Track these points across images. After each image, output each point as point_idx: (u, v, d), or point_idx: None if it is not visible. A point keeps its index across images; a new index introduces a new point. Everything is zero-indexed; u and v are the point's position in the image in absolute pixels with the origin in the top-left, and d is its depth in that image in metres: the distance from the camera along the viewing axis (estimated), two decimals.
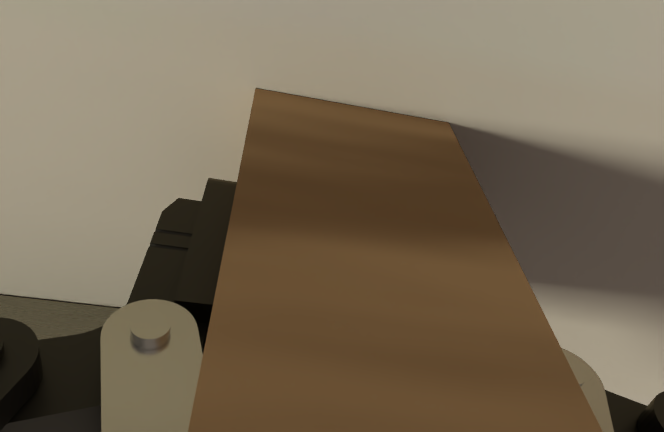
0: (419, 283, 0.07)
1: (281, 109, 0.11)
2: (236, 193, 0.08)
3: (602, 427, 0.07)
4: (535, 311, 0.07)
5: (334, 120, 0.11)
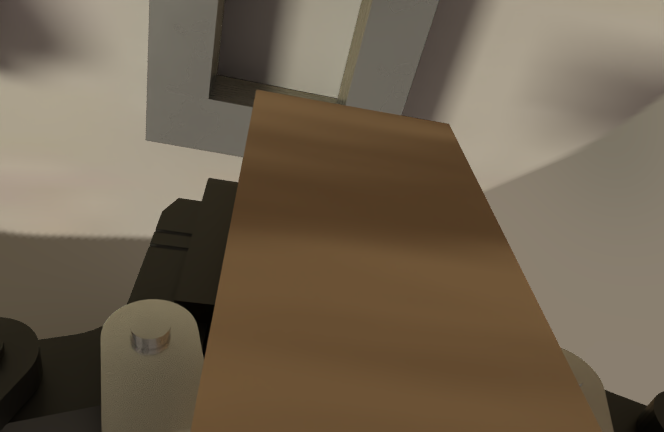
0: (419, 283, 0.07)
1: (281, 110, 0.11)
2: (237, 194, 0.08)
3: (602, 427, 0.07)
4: (535, 312, 0.07)
5: (334, 121, 0.11)
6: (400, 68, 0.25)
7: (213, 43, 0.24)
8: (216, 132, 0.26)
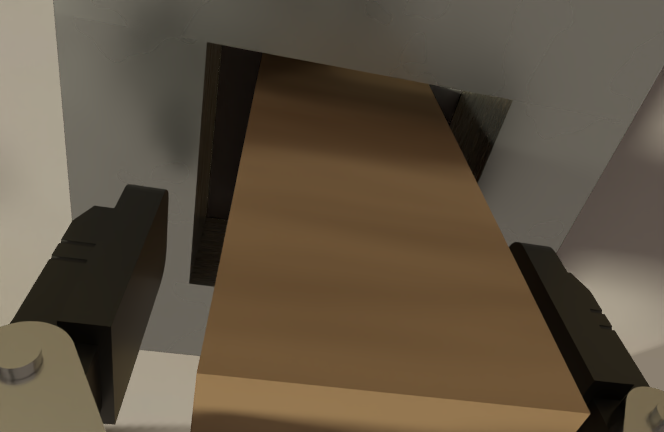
0: (393, 186, 0.09)
1: (284, 66, 0.13)
2: (249, 121, 0.10)
3: None
4: (484, 209, 0.09)
5: (329, 76, 0.13)
6: (541, 229, 0.13)
7: (194, 198, 0.13)
8: None
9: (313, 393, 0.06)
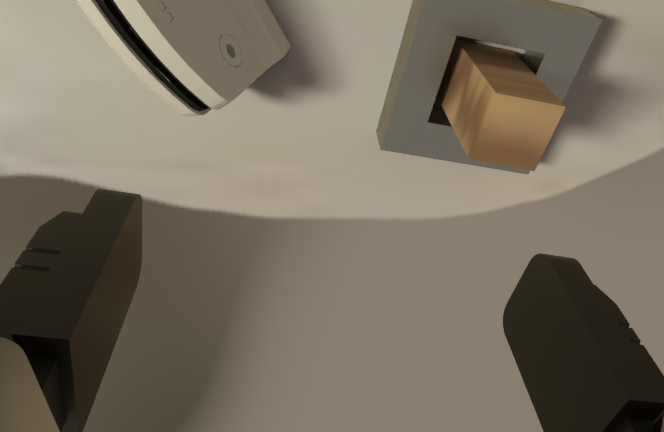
0: (515, 74, 0.34)
1: (466, 44, 0.38)
2: (470, 58, 0.35)
3: None
4: (539, 80, 0.34)
5: (481, 47, 0.38)
6: None
7: (438, 87, 0.38)
8: (427, 143, 0.40)
9: (514, 98, 0.31)
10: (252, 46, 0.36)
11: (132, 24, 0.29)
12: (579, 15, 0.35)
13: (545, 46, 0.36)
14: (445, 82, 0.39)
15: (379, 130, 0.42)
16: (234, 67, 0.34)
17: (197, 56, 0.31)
